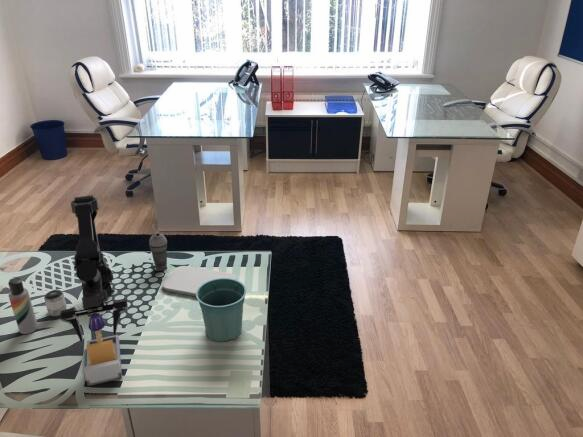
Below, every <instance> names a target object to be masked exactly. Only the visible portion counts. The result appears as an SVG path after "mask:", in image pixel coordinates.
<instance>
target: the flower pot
mask: <svg viewBox="0 0 583 437" xmlns="http://www.w3.org/2000/svg"><path fill="white" fill-rule="evenodd" d="M246 295H247V287H246V285H245V284H244V283H243V282H241V281H240V280H238V279H236V280H235V279H231V278H217V279H213V280H210V281H207V282H205V283H204V284H202V285H201V286H200V287H199V288H198V289H197V291H196V296H195V297H196V300H197V301H198V304H199V307H200V309H201V312H202V320H203V323H204V328H205V333H206V335H207V337H209V339H210V340H212V341H216V342H227V341H229V340H234V339H236V338H237V337H238V336H239V335H240V334H241V332H242V330H243V329H242V328H243V318H244V316H243V314H244V312H243V311H244V304H245V297H246Z"/></svg>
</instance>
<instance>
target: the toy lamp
mask: <svg viewBox="0 0 583 437" xmlns="http://www.w3.org/2000/svg"><path fill="white" fill-rule="evenodd" d="M105 327H106V323H105V320H104V318H103V317H102V315H101V314H100V312H99V313H94V314H90V316H89V320H88V329H89V331H92V332H94V334H95V338H96V339H97V343H100V342H103V339H102V338H103V334H102V330H103V329H104V328H105Z"/></svg>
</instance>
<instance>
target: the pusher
mask: <svg viewBox="0 0 583 437" xmlns="http://www.w3.org/2000/svg"><path fill="white" fill-rule="evenodd" d="M87 351H88V355H89V359H90V364H91V366H92V365H96V364H101V363H105V362H109V361H114V360H116V356H115V351H114V346H113V341H112V340H109V341H104V342H100V343H95V344H90V345H87V344H86V352H87Z"/></svg>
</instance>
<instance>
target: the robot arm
mask: <svg viewBox="0 0 583 437" xmlns="http://www.w3.org/2000/svg"><path fill="white" fill-rule="evenodd" d="M98 199H99V198H98V197H96V196H94V194H91V195H90V194H89V195H82V196H81V195H80V196H75V197H74V199H73V200H71V201H70V208H71V212H72V214H75V217H76V218H77V224H78V226H77V227H78V235H79V237H78V238H79V241H78V244H77V245H76V247H75V252H76V253H75V254H74V255H73V257H74V258H73V259H74V270H75V274H76V276H77V279H78V280H79V281H80V283H81V290H82V297H81V304H82V308H83V309H75V308H74V307H73V308H68V309H67V308H66V310H62V311H61V312H60V315H59V319H60V321H61V322H63V323H67V324H68V325H71V326H72V327H73V328H74V331H75V333H76V334H77V336H78V339H79V341H80V342H81V343H83V342H84V341H83V340H84V339H83V338H84V336H83V333H82V332H83V331H82V328H81V324H80V320H79V319H78V317H83V316H87V315H88V316H89V315H92V314H94V313H99V314H100V313H103V312H109V311H112V318H113V319H112V320H113V321H112V324H113V325H112V326H113V327H112V329H113V331H112V332H113V335H114V336H115V335H117V330H118V325H119V321H120V318H121V315H122V314H125V311H128V310H129V306H128V302H127V299H126V298H120V299H116V300H115V299H114V300H112V303H110V304H105V302H108V300H109V299H108V298H109V297H110V296H111V295H113V294H114V293H115V290H114V289H112V284H111V282H112V280H114V274H113V270H112V269H111V268H110V267H109V266H108V263H107V262H108V261H106V260H105V259H104V253H103V252H102V250H101V249H100V245H99V237H98V232H97V228H96V227H97V226H96V216H97V215H98V210H99V205H100V204H99V200H98Z"/></svg>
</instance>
